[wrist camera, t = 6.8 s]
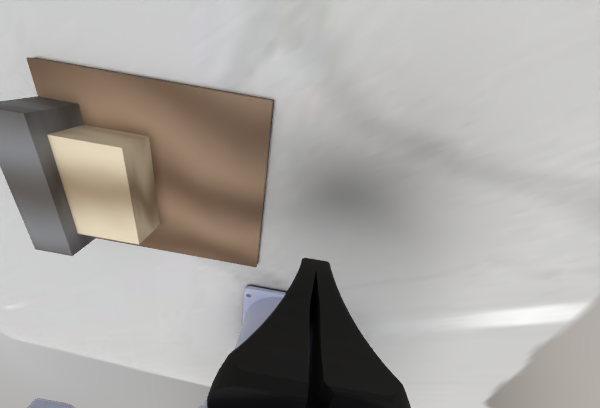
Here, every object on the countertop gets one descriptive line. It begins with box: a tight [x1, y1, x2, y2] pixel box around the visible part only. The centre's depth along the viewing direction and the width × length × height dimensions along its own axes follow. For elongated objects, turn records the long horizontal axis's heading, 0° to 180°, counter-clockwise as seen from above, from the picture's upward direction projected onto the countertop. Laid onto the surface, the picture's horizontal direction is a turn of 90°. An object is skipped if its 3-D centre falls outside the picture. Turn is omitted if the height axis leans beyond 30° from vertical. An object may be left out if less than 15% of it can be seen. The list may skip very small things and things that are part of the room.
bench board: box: [0, 58, 274, 267], centre depth 20 cm, size 15×17×5 cm
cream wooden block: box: [47, 125, 160, 245], centre depth 21 cm, size 8×5×3 cm, turn 171°
